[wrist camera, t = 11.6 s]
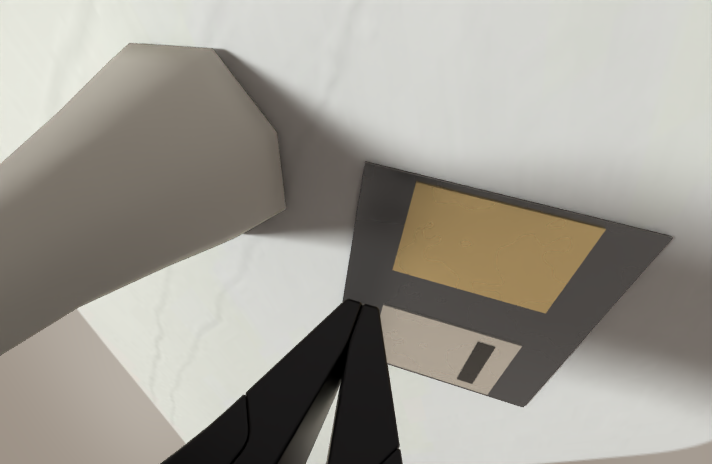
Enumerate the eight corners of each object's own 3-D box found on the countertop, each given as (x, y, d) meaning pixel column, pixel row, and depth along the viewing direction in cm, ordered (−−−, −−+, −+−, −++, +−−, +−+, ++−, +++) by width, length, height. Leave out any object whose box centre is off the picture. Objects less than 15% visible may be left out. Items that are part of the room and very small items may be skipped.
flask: (319, 222, 13) (92, 584, 5) (177, 239, 16) (-108, 495, 8) (227, 1, 10) (-870, 115, 2) (65, 72, 12) (-643, 241, 4)
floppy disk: (523, 405, 16) (523, 410, 16) (335, 345, 17) (334, 349, 17) (671, 236, 10) (674, 240, 10) (365, 161, 11) (364, 164, 11)
